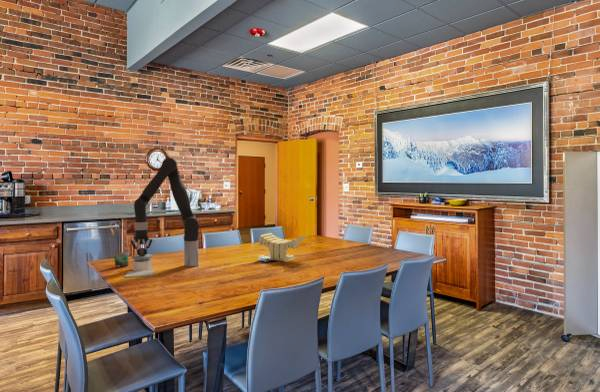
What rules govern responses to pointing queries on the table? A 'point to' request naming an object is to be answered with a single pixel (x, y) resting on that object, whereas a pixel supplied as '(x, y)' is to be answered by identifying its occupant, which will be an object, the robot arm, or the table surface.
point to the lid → (142, 255)
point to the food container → (121, 259)
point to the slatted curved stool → (279, 246)
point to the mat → (140, 273)
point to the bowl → (141, 264)
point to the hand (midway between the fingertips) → (142, 254)
